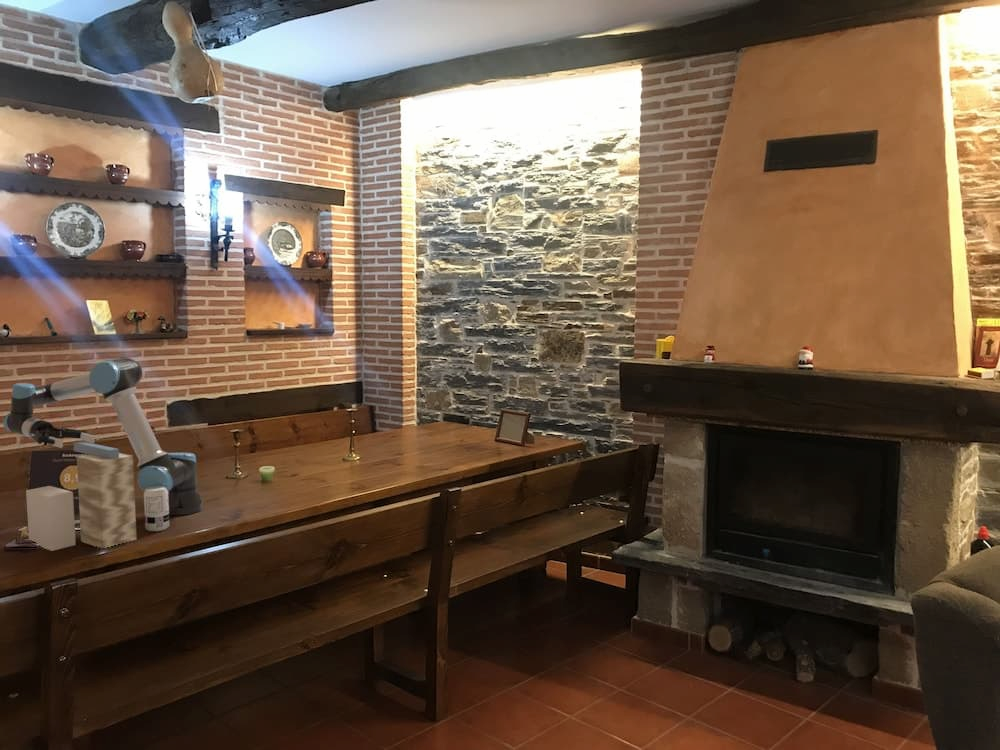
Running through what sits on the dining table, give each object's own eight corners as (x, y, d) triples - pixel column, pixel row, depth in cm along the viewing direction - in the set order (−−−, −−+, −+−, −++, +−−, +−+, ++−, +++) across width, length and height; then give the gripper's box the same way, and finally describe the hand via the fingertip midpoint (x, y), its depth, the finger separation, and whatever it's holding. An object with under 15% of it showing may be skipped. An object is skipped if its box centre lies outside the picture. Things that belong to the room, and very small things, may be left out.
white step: (52, 537, 286) (49, 485, 284) (75, 544, 277) (72, 492, 275) (29, 542, 279) (26, 490, 277) (51, 550, 271) (49, 496, 269)
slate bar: (82, 449, 289) (81, 441, 289) (119, 457, 277) (118, 448, 276) (74, 451, 287) (73, 442, 287) (110, 459, 274) (110, 450, 274)
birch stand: (113, 532, 291) (110, 450, 288) (136, 539, 283) (132, 455, 280) (81, 541, 281) (76, 456, 278) (103, 548, 273) (99, 461, 270)
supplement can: (140, 529, 295) (138, 489, 294) (160, 524, 302) (159, 484, 300) (153, 533, 291) (152, 492, 289) (174, 527, 298) (172, 488, 296)
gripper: (66, 435, 320) (105, 447, 312) (6, 443, 297) (46, 456, 289) (68, 416, 319) (107, 428, 311) (8, 423, 296) (48, 435, 288)
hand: (78, 441), depth 300 cm, fingers open, 13 cm apart
